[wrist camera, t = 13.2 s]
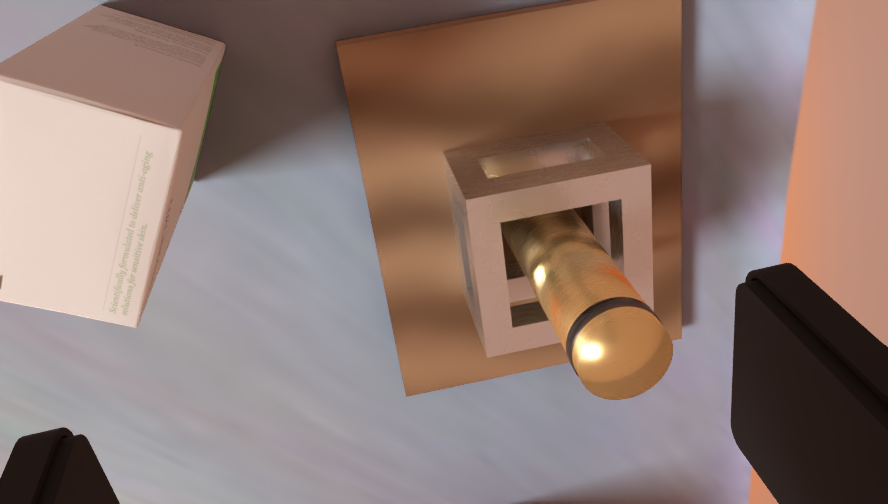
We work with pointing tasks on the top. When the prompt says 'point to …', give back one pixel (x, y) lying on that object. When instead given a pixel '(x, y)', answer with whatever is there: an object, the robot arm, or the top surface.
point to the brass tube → (590, 305)
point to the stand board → (495, 119)
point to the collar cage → (535, 193)
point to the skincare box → (99, 160)
